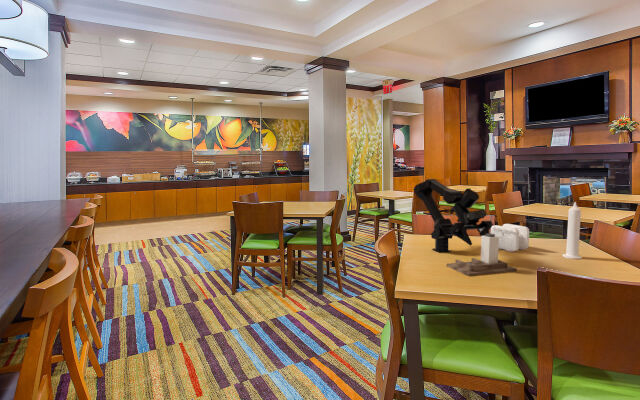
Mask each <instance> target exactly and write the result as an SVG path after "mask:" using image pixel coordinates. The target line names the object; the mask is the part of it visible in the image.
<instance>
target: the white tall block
mask: <svg viewBox="0 0 640 400" xmlns="http://www.w3.org/2000/svg"><path fill="white" fill-rule="evenodd" d="M480 237H481V241H480V261H483V262H486V263H488V264H491V263H498V260H499V249H498V245H499V237H496V236H495V234H491V232H489V233H488V234H486V235H485V236H481V235H480Z"/></svg>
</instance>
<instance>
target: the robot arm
mask: <svg viewBox="0 0 640 400" xmlns="http://www.w3.org/2000/svg"><path fill="white" fill-rule="evenodd" d="M433 191H434V192H435V193H437V194H438V195H440V196H442V199H443V201H444V202H445V203H446V204H447V205H452V206H451V208H450V213H455V215H456V217H457V220H456V221H457V222H454V223H453V222H452V221H451V219H450V218H445V217H444V215H443V214H442V212H441V210H440V208H439V207H438V205H437V203H436V201H435V200H434V198H433ZM413 192H414V195H415V196H416V197H417V198H418V199H420V200H421V201H422V202H423V203H424V206H425V207H426V209H427V211H428V213H429V215H430V217H431V219H432V220H433V222H434V223H433V231H432V232H431V233H430V236H431V237H430V238H432V239H434V241H435V243H434V248H432V249H431V250H433V251H435V252H437V253H451V251H452V250H450V249H449V239H453V236H454V237H457V238H458V239H460V240H462V241H463V242H464V243H466V244H467V245H469V246H470V247H471V246H472V245H473V242H472V240H471V238H470V236H469V234H468V231H470V230H477V232H478V234H479V235H480V237H481V236H485V235H486V234H488V233H490V230H491V227H492V226H494V224H493V222H492V221H491V220H482V219H485V217H487V212H486V210H485V209H483V208H482V209H478V210H473V211H470V210H469V209H470V208H472V207H473V206H474V205H475V204H476V202H478V200H479V199H480V196H479V194H478V193H477V192H476V191H474V190H472V189H471V188H465V190H464V191H463V192H462V191H460V190H457V189H451V188H450V187H448V186H446V185H445V184H443V183H441V182H439V181H438V180H437V179H436V178H428V179H426V180H425V181H422V182H420V183H418V184H417V183H416V184H415V186H414V187H413ZM480 220H482V221H481V222H480ZM479 222H480V223H479ZM478 223H479V224H478Z"/></svg>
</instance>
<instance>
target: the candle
mask: <svg viewBox="0 0 640 400" xmlns="http://www.w3.org/2000/svg"><path fill="white" fill-rule="evenodd" d="M567 217H568V218H567V234H566V249H565V250H566V251H565V253H563V254H562V257H563V258H567V259H571V260H581V259H582V258H583V257H582V255H579V252H580V251H579V249H580V248H579V247H580V236H581V235H580V233H581V219H582V218H581V217H582V209H581V208H579V206H578V205H577V201H575V202H574V203H573V205H572V206H571V207H570V208H568V216H567Z"/></svg>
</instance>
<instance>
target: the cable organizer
mask: <svg viewBox="0 0 640 400" xmlns="http://www.w3.org/2000/svg"><path fill="white" fill-rule="evenodd" d="M490 233H491V234H495V236H496V237H499V245H498V250H505V251H506V252H510V253H512V252H517V251H518V250H521V251H523V250H527V249H528V248H529V247H530V229H529V227H527V226H524V225H518V224H511V223H504V224H502V225H498V224H496V225H494V224H493V226H492V227H491V228H490Z"/></svg>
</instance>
